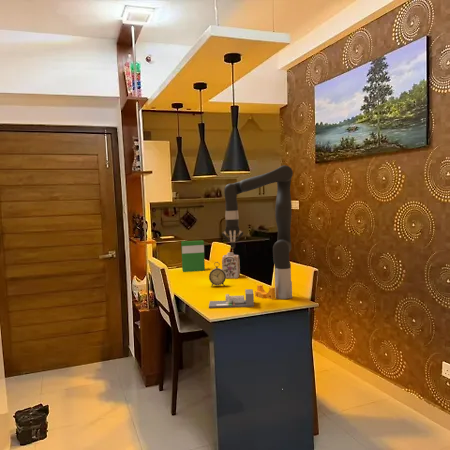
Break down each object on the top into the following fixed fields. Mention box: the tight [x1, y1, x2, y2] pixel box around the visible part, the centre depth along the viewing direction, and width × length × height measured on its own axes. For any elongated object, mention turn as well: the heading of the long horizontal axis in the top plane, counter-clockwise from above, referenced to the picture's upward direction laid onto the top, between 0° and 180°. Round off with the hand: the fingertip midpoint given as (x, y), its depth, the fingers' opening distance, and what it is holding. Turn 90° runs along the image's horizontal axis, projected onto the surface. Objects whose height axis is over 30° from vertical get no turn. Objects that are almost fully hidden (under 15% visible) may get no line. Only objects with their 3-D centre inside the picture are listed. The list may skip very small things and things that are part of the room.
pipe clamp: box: [254, 284, 276, 300], centre depth 241 cm, size 12×4×6 cm, turn 39°
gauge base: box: [208, 288, 255, 309], centre depth 227 cm, size 24×11×7 cm, turn 89°
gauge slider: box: [225, 293, 245, 304], centre depth 226 cm, size 10×8×4 cm
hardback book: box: [180, 239, 206, 273], centre depth 339 cm, size 18×7×24 cm, turn 100°
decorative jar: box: [221, 252, 241, 279], centre depth 307 cm, size 12×12×18 cm
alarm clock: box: [208, 261, 227, 288], centre depth 276 cm, size 11×5×16 cm, turn 88°
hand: (233, 248), depth 240 cm, fingers closed
